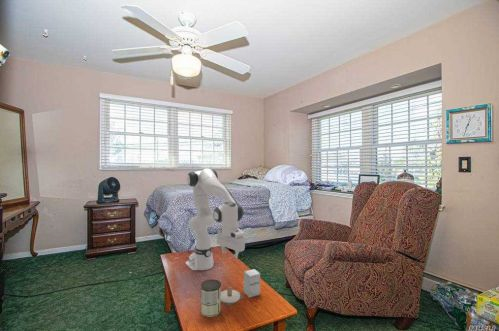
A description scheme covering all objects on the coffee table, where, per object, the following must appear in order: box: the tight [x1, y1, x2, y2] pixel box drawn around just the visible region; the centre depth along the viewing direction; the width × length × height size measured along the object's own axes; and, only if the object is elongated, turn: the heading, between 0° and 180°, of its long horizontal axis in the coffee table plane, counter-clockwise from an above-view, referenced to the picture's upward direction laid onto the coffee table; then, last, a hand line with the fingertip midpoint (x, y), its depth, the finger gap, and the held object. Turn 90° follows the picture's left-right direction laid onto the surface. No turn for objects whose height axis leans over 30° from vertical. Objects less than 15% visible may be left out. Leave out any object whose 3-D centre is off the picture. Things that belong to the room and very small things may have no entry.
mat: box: [223, 294, 245, 307], centre depth 135 cm, size 12×12×1 cm
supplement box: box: [243, 268, 261, 298], centre depth 140 cm, size 7×7×13 cm
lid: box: [221, 285, 241, 304], centre depth 135 cm, size 12×12×6 cm
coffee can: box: [200, 279, 222, 318], centre depth 123 cm, size 10×10×14 cm
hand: (229, 255), depth 135 cm, fingers open, 8 cm apart
